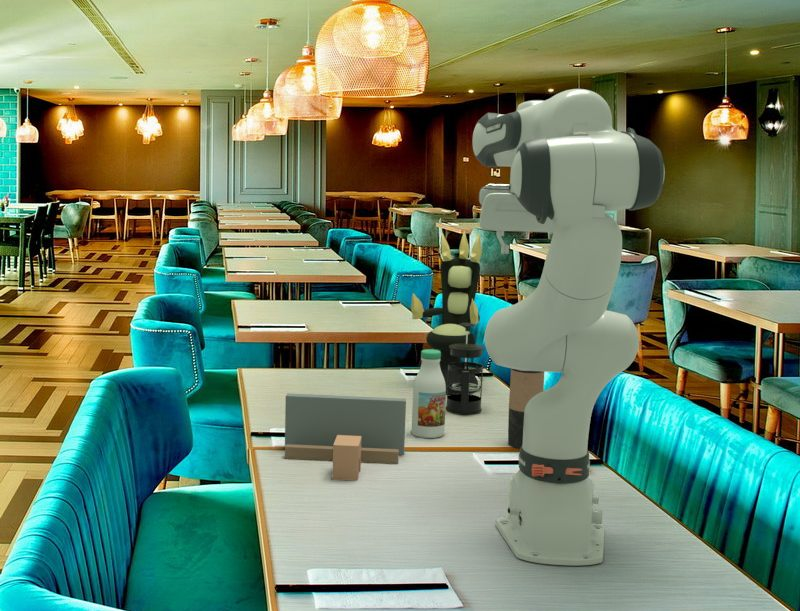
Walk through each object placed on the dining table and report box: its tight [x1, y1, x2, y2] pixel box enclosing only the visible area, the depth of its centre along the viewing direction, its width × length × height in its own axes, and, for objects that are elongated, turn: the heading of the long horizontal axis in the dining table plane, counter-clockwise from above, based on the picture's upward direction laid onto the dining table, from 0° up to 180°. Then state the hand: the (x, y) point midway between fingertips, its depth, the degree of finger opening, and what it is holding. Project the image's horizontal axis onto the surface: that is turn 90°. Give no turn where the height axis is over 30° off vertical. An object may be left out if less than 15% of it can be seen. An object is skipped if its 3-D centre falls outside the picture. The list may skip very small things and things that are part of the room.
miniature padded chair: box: [410, 229, 483, 395], centre depth 259 cm, size 19×22×45 cm
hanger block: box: [332, 435, 362, 481], centre depth 183 cm, size 7×5×7 cm
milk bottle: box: [411, 348, 447, 439], centre depth 212 cm, size 8×8×20 cm
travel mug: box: [507, 368, 545, 449], centre depth 207 cm, size 8×8×20 cm
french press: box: [445, 323, 485, 416], centre depth 235 cm, size 12×9×23 cm
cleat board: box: [284, 393, 407, 464], centre depth 195 cm, size 8×26×12 cm, turn 88°
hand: (528, 254), depth 182 cm, fingers open, 8 cm apart
